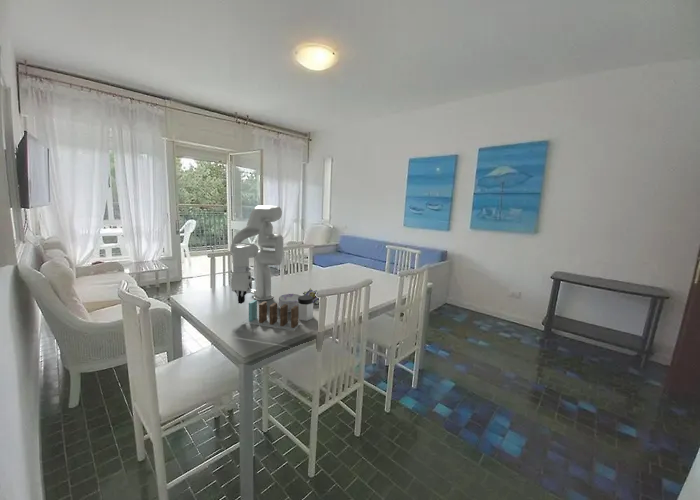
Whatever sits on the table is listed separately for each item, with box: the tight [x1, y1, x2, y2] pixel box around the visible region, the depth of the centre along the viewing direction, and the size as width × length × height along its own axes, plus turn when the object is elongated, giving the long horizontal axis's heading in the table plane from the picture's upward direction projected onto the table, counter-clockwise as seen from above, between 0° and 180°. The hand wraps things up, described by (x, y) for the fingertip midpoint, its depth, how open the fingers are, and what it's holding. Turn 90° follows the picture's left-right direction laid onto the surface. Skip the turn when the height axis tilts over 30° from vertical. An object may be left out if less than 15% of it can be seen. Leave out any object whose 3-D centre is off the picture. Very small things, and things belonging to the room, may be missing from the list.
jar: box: [298, 294, 314, 322], centre depth 159 cm, size 9×8×12 cm
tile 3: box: [269, 302, 278, 325], centre depth 151 cm, size 2×5×10 cm, turn 167°
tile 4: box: [279, 304, 289, 326], centre depth 149 cm, size 2×5×10 cm, turn 167°
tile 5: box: [290, 306, 299, 328], centre depth 148 cm, size 2×5×10 cm, turn 167°
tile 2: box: [258, 300, 268, 323], centre depth 152 cm, size 2×5×10 cm, turn 167°
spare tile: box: [248, 299, 258, 321], centre depth 153 cm, size 2×5×10 cm, turn 167°
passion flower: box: [302, 288, 319, 306], centre depth 182 cm, size 11×11×12 cm
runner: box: [242, 315, 302, 331], centre depth 152 cm, size 29×10×1 cm, turn 77°
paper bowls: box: [278, 293, 303, 313], centre depth 171 cm, size 15×15×8 cm
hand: (241, 302), depth 153 cm, fingers closed
